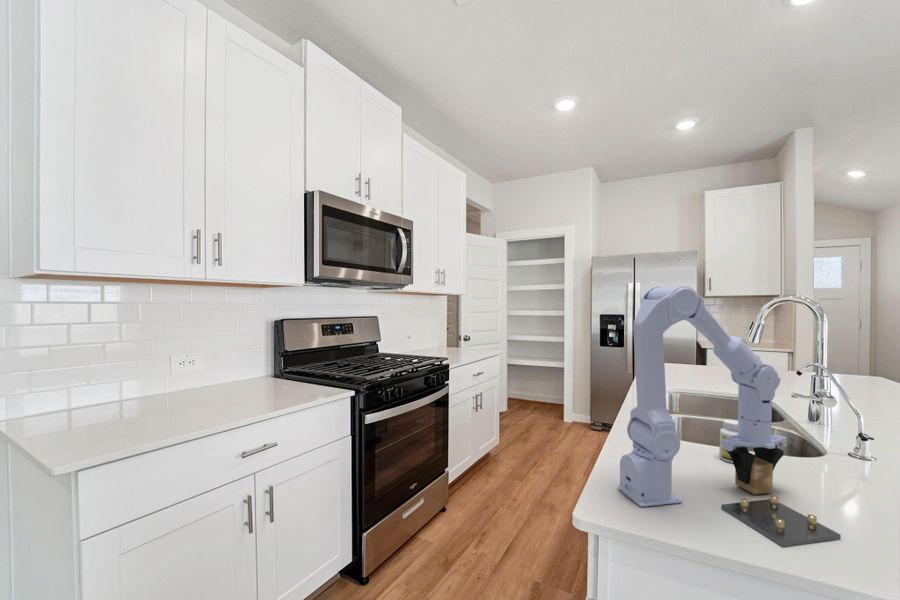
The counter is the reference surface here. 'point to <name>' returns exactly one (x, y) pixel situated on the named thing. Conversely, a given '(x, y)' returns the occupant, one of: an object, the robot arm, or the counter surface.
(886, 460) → the counter surface
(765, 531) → the plate
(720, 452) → the supplement bottle
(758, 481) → the oak block
